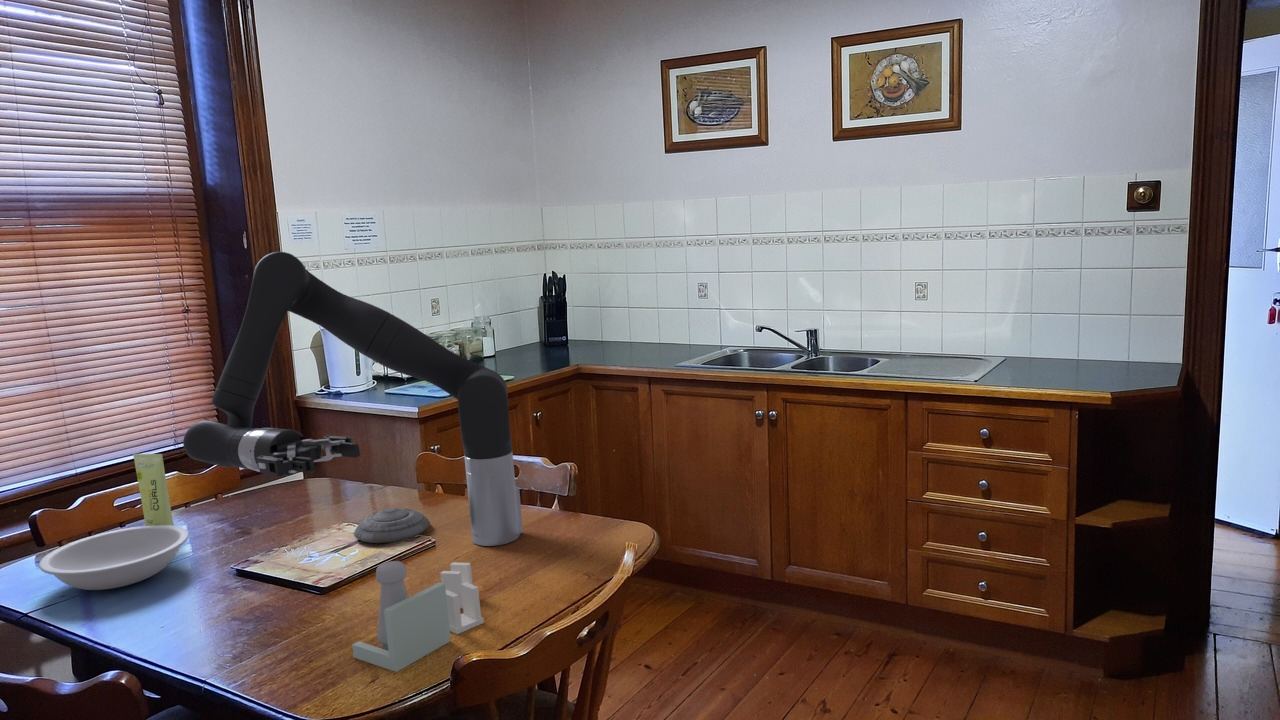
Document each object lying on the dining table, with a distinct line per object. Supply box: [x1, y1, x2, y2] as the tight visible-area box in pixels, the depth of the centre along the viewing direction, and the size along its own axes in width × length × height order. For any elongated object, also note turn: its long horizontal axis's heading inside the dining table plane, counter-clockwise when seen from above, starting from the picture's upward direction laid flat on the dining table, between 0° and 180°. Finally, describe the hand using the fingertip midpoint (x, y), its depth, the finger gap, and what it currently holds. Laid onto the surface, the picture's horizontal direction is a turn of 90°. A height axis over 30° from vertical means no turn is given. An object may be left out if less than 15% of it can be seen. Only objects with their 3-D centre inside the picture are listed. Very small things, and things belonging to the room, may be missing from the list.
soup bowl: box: [38, 525, 190, 591], centre depth 166 cm, size 24×24×7 cm
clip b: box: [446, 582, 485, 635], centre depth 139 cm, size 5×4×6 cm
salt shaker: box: [375, 560, 410, 651], centre depth 132 cm, size 6×6×13 cm
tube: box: [133, 453, 175, 526], centre depth 183 cm, size 6×5×20 cm
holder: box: [351, 581, 452, 673], centre depth 132 cm, size 10×9×9 cm
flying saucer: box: [353, 507, 431, 544], centre depth 183 cm, size 15×15×6 cm
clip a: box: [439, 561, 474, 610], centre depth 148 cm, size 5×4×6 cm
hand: (335, 458), depth 141 cm, fingers open, 8 cm apart
